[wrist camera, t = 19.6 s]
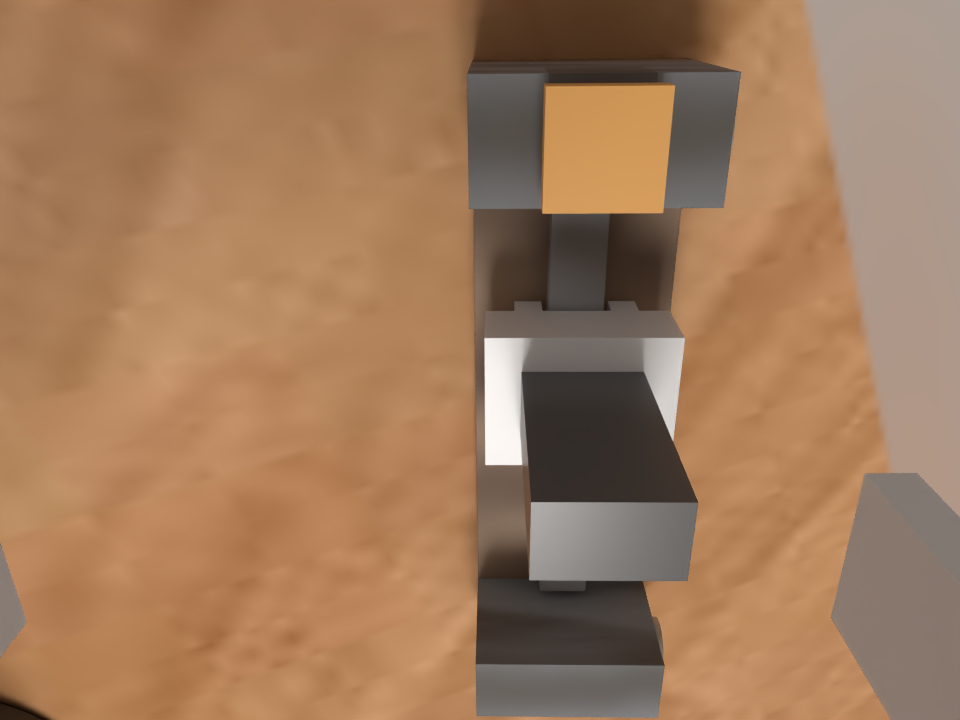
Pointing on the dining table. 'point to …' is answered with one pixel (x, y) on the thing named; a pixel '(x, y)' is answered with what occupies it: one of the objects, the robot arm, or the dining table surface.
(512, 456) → the carriage
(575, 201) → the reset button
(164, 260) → the dining table surface
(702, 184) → the rail base
